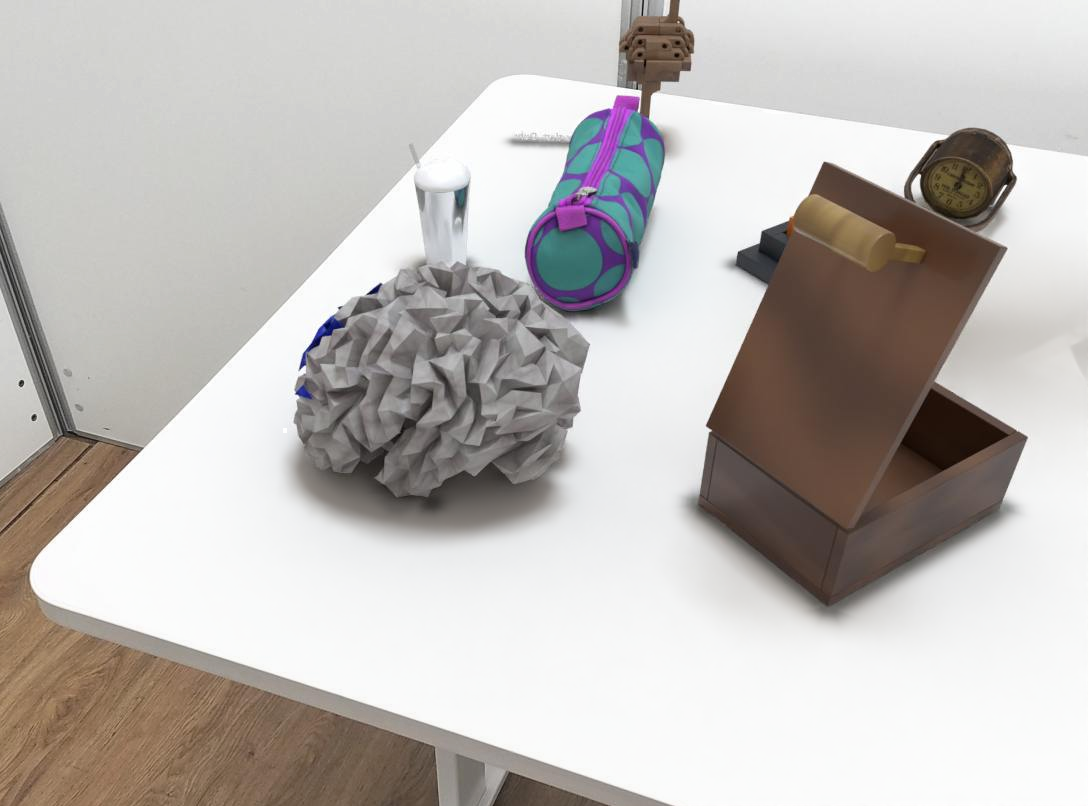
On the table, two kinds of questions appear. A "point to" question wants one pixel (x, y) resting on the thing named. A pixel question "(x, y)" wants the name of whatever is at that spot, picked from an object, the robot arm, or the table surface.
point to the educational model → (441, 379)
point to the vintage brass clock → (965, 175)
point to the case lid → (850, 338)
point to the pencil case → (597, 209)
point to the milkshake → (443, 208)
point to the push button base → (765, 252)
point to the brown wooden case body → (871, 499)
